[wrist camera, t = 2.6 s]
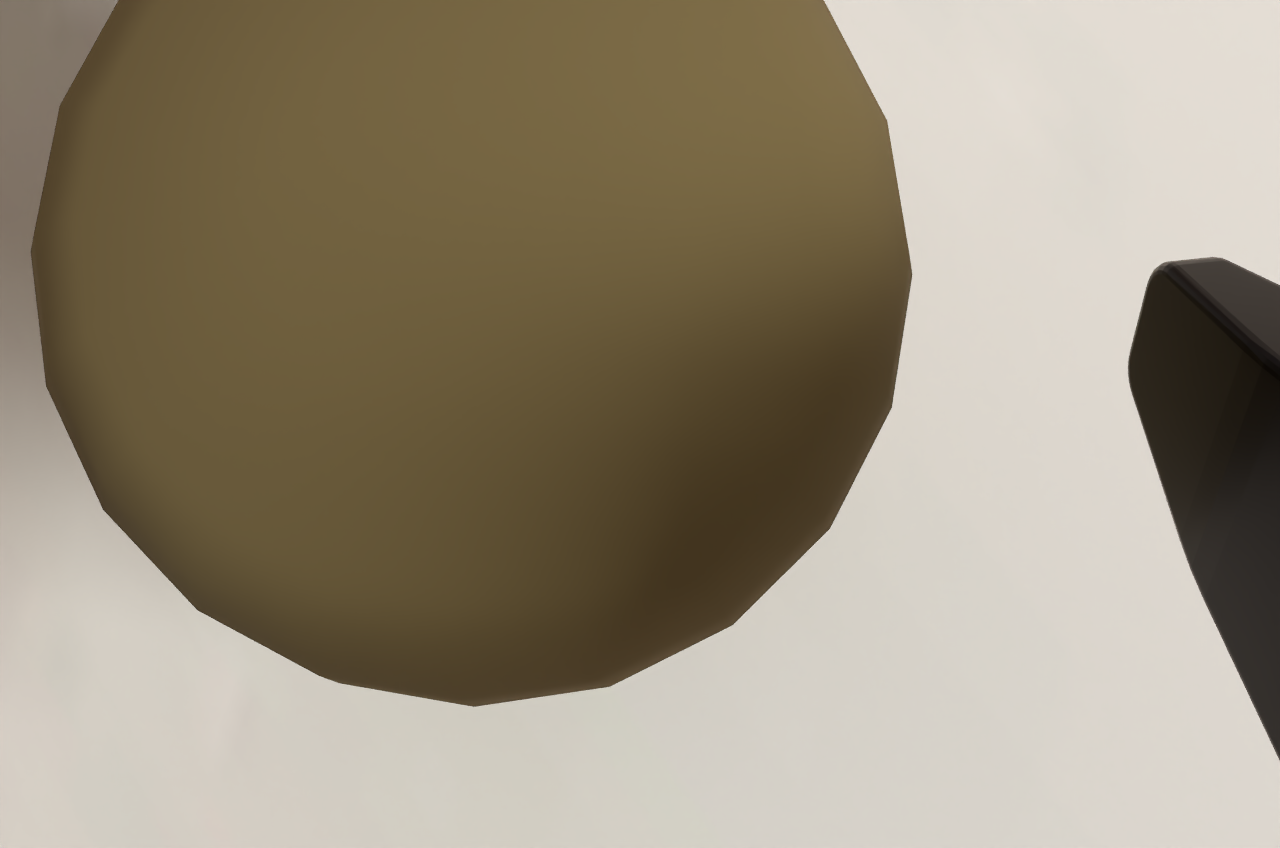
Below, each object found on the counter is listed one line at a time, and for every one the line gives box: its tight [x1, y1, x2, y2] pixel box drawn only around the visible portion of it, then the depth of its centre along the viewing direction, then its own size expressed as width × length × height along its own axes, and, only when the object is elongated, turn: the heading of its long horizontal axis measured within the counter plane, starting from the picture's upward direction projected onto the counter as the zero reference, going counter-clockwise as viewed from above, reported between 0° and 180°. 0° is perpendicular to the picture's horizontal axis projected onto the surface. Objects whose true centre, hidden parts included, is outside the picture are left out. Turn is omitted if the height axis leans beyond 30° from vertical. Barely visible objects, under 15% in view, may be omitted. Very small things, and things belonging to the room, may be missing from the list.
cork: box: [31, 0, 912, 707], centre depth 11 cm, size 6×6×11 cm
